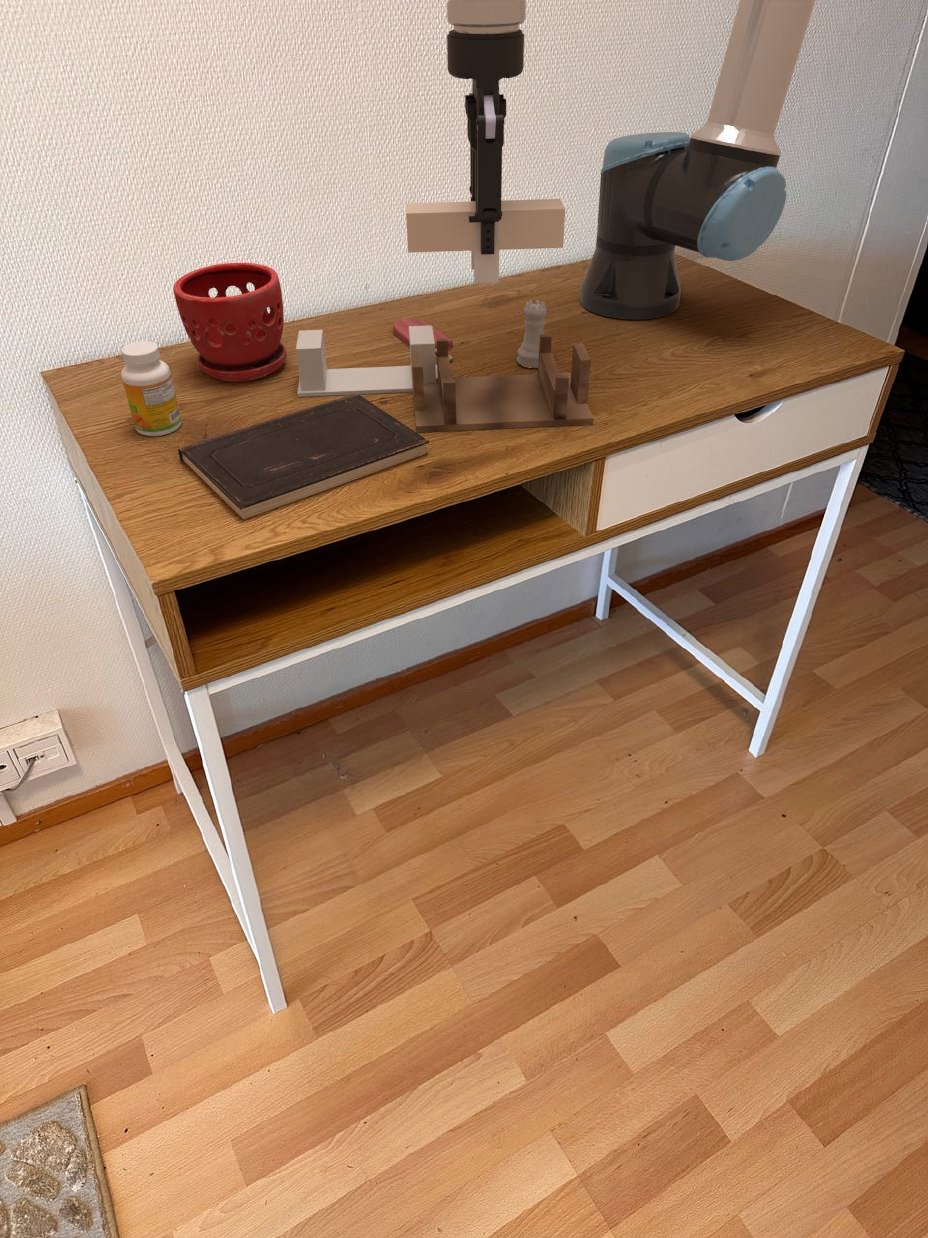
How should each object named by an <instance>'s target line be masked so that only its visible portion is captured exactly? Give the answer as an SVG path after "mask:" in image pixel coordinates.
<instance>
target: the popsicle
mask: <svg viewBox="0 0 928 1238" xmlns="http://www.w3.org/2000/svg"><path fill="white" fill-rule="evenodd" d="M431 325H432V324H429V323H428V322H426V321H425V320H422V319H419V318H402V319H400V320H396V321H395V322H394V323H393V324H392V330H393V335H394V336H395V337H396V338H397V339H398V340H400V341H401V342H402V343H403V344H404V345H405V346H407V347H408V348H409V349H410V342H409V326H431ZM432 328H433V335H434V342H435V355H437V339H446V338H448V350H451V349H453V345H454V343H453V339H451V338H449V337H448V335H445V334H444V333H442V332H441V331H440V330H439V329H437V328H435V327H434V326H432ZM448 357H449V362H452V361H453V360H454V357H453V356H452V355H450V354H449V353H448Z"/></svg>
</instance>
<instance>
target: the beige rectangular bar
mask: <svg viewBox="0 0 928 1238" xmlns="http://www.w3.org/2000/svg"><path fill="white" fill-rule="evenodd" d="M501 211H502V218H501V220H500V234H499V251H501V250H502V251H503V250H509V251H510V250H536V249H537V250H538V249H541V250H542V249H564V238H565V223H566V221H565V220H566V208H565V206H564V203H563V202H562V200H561V198H544V199H543V198H542V199H514V200H513V199H511V200H509V199H508V200H507V199H506V200H503V199H502V200H501ZM475 213H476V201H471V200H470V201H441V202H438V201H437V202H406V203H405V215H406V217H405V221H406V222H405V223H406V236H407V238H406V239H407V241H406V242H407V253H432V252H433V253H435V252H436V253H439V252H440V253H441V252H467V251H468V252H471V251H474V223H469V216H475Z"/></svg>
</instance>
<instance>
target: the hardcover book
mask: <svg viewBox="0 0 928 1238" xmlns="http://www.w3.org/2000/svg"><path fill="white" fill-rule="evenodd" d="M427 444H430V440H429V439H427V438H426V437H424V436H423V435H421V434H420V433H419V432H416V430H414V429H412V428H410V427H409V426H407V424H405V423H403V422H402V421H401V420H398V419H397V418H395V417H394V416H392V415H390V414H389V413H388V412H386V411H385V410H383V409H382V408H380V407H378V406H377V405H376V404H374V403H372V402H371V401H369V400H368V399H366V398H365V397H363V396H362V395H361V394H357V393H356V394H353V395H345V396H343V397H341V398H337V399H334V400H330V401H328V402H324V403H321V404H318V405H317V404H316V405H315V406H310V407H308V408H304V409H302V410H299V411H298V410H297V411H296V412H292V413H288V414H285V415H283V416H279V417H275V418H271V419H269V420H265V421H263V422H260V423H256V424H252V425H250V426H246V427H244V428H240V429H236V430H233V431H229V432H226V433H224V434H220V435H217V436H213V437H210V438H207V439H204V440H201V441H197V442H195V443H191V444H187V445H184V446H181V447H179V448H178V449H177V450H178V451H177V452H178V456H179V461H184V463H186V465H188V466H189V467H190V468H191V470H193V471H194V472H195V473H196V474H197V475H198V477H200V478H201V479H202V480H203V481H204V483H206V485H208V486H209V487H210V488H211V489H212V490H213V491H214V492H215V493H216V494H217V495H218V496H219V497H220V498H221V499H222V500H223V501H224V502H225V503H226V504H227V505H228V506H229V507H230V508H231V509H232V510H233V511H234V512H235V513H236V514H237V515H238V516H240V518H241V519H242V520H243V521H244V520H246V519H250V518H251V517H255V516H258V515H259V514H260V515H261V514H263V513H266V512H268V511H271V510H274V509H276V508H279V507H282V506H286V505H288V504H291V503H293V502H296V501H299V500H301V499H304V498H307V497H311V496H313V495H316V494H318V493H322V492H324V491H326V490H329V489H333V488H335V487H337V486H340V485H342V484H346V483H349V482H352V481H354V480H358V479H359V478H363V477H366V476H368V475H371V474H373V473H377V472H380V471H381V470H386V469H387V468H391V467H393V466H396V465H398V464H401V463H404V462H407V461H410V460H413V459H415V458H418V457H421V456H423V455H426V454H427V449H428V448H427V446H426V445H427Z"/></svg>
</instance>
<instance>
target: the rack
mask: <svg viewBox="0 0 928 1238" xmlns="http://www.w3.org/2000/svg"><path fill="white" fill-rule="evenodd" d="M448 338H449V337H448ZM448 338H446V339H437V354H436V363H437V364H436V365H437V375H438V378H436V383H434V384H424V379H423V362H422V354H421V350H411V358H412V380H413V384H412V387H413V392H412V397H413V400H412V401H413V408H414V409H413V411H414V420H415V421H414V422H415V432H417V433H432V432H433V433H434V432H435V433H436V432H456V431H457V432H458V431H460V432H461V431H477V430H500V429H501V430H502V429H503V430H504V429H523V428H524V429H525V428H542V427H543V428H546V427H566V426H586V425H587V426H588V425H589V426H592V425H594V419H595V418H594V416H593V413H592V412H591V409H590V406H589V404H588V397H589V386H590V385H589V384H590V376H591V375H590V374H591V364H592V360H591V357H590V354H589V353H588V351H587V349H586V346H585V344H584V343H573V345H572V356H571V370H570V372H560V370H559V368H558V366H557V363H556V361H555V358H554V356H553V354H552V341H553V335H552V334H550V333H549V334H544V335H540V342H539V362H538V369H537V373H533V374H532V373H531V374H514V375H513V374H512V375H511V374H510V375H506V374H505V375H489V376H488V375H486V376H464V377H463V376H462V377H461V376H460V377H453V374H452V370H451V369H452V368H451V363H450V362H451V361H449V357H448V354H449V349H448Z"/></svg>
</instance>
